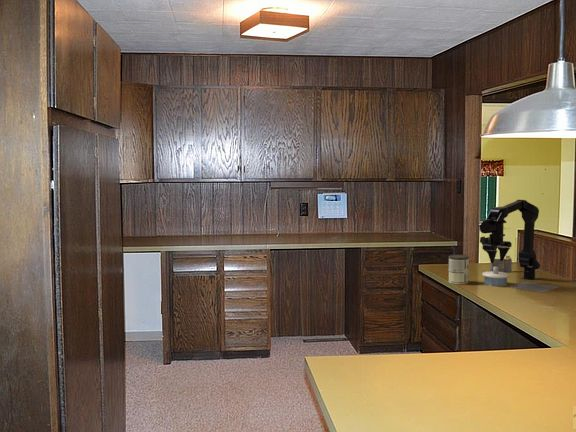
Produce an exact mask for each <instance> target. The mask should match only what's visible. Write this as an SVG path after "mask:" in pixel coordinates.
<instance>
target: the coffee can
mask: <svg viewBox="0 0 576 432" xmlns="http://www.w3.org/2000/svg"><path fill="white" fill-rule="evenodd" d="M469 258H470V257H469V255H465V254H449V255H448V283H450V284H453V285H465V284H466V285H467V284H469Z"/></svg>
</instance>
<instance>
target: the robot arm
mask: <svg viewBox="0 0 576 432" xmlns="http://www.w3.org/2000/svg"><path fill="white" fill-rule="evenodd" d="M515 211H519V212H520V213H521V218H522V220H523V223H524V226H523V243H522V244H523V246H522V247H523V248H522V250H521V251H519V252H518V262H519V267H521V268H523V277H521V279H523V280H530V281H533V280H538V277H536V270H540V267H541V264H540V263H539V261H538V260H537V254H536V252H535V250H534V240H535V239H534V237H535V223H536V221H537V220H538V218H539V214H540V209H539V207H538V206H536V205H534V204H533V203H530V202H529V201H527V200H525V199H516V200H515V201H513V202H511V203H507V204H506V205H503V206H495V207H492V208H490V211H489V212H488V215H486V218H485V219H483V220H482V222H481V223H480V225H479V232H480V233H482V234H489V236H488V237H486V236H480V238H479V243H480V244H482V250H483V251H484V252H486V253H487V255H488V258H489V262H490V264H491V263H494V260H495V259H496V256H497V252H498V251H499V259H500V261H503V259H506V256H507V254H508V252H509V250H510V249H511V248H512V242H511V241H508V240H504V237H505V236H506V234H505V233H504V224H507V221H506V220H505V219H506V218H507V217H508V216H509V214H511V213H514V212H515Z"/></svg>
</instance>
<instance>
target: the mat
mask: <svg viewBox="0 0 576 432" xmlns="http://www.w3.org/2000/svg"><path fill="white" fill-rule="evenodd" d="M508 288H511V289H518V290H525V291H531V292H535V293H536V292H538V293H545V292H550V291H552V290H555V289H558V288H560V286H557V285H556V286H555V285H551V284H550V285H549V284H543V283H538V282H537V283H535V282H530V281H523V282H520V283H517V284H516V283H515V284H513V285H510V286H509V285H508Z"/></svg>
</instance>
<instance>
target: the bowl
mask: <svg viewBox="0 0 576 432" xmlns="http://www.w3.org/2000/svg"><path fill="white" fill-rule="evenodd" d="M483 279H484V280H483V281H484V285H486V286H490V287H504V286H507V285H508V277H507V278H490V277H485V276H484V278H483Z"/></svg>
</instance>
